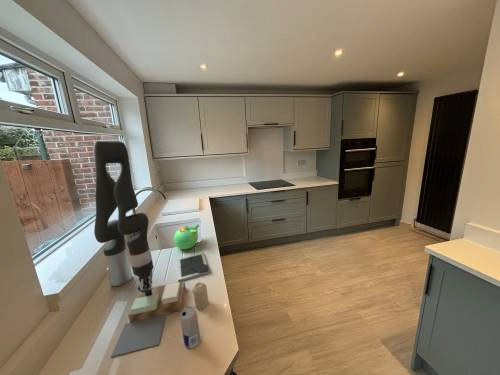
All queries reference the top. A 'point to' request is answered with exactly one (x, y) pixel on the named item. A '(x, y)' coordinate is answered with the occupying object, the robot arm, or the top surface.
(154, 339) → the mat
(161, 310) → the thick wooden panel
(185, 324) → the energy drink
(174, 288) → the cream block
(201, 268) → the picture frame
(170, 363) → the top surface
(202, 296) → the candle
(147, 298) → the sage green block
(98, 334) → the top surface
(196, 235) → the toy bird
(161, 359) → the top surface
